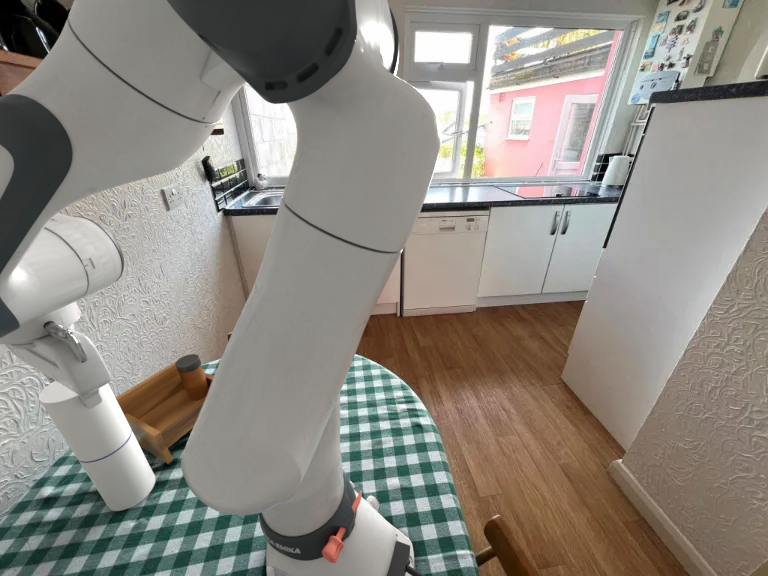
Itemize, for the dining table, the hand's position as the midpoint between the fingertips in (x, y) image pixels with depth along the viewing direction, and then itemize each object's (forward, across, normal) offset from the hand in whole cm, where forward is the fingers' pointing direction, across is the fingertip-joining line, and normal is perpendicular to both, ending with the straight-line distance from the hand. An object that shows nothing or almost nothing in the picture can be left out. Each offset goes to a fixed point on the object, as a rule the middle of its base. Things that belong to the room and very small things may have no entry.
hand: (76, 394), depth 47 cm
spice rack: (+23, +5, -14) cm, 28 cm away
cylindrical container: (+23, 0, 0) cm, 23 cm away
